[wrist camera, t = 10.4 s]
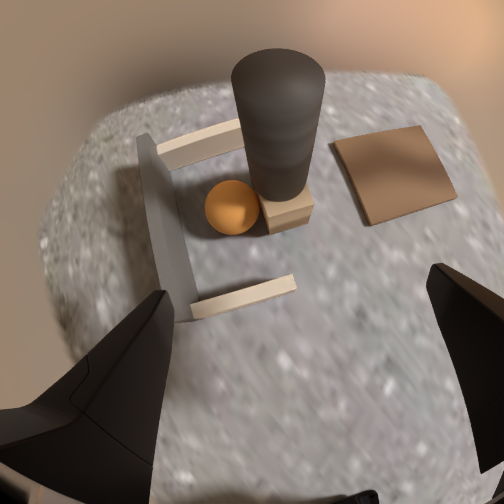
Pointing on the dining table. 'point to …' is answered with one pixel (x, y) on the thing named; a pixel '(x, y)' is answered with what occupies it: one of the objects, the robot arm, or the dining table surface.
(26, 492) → the robot arm
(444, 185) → the brown rectangular plate
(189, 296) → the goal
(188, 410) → the dining table surface
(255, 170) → the ball
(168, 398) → the dining table surface
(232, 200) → the ball
